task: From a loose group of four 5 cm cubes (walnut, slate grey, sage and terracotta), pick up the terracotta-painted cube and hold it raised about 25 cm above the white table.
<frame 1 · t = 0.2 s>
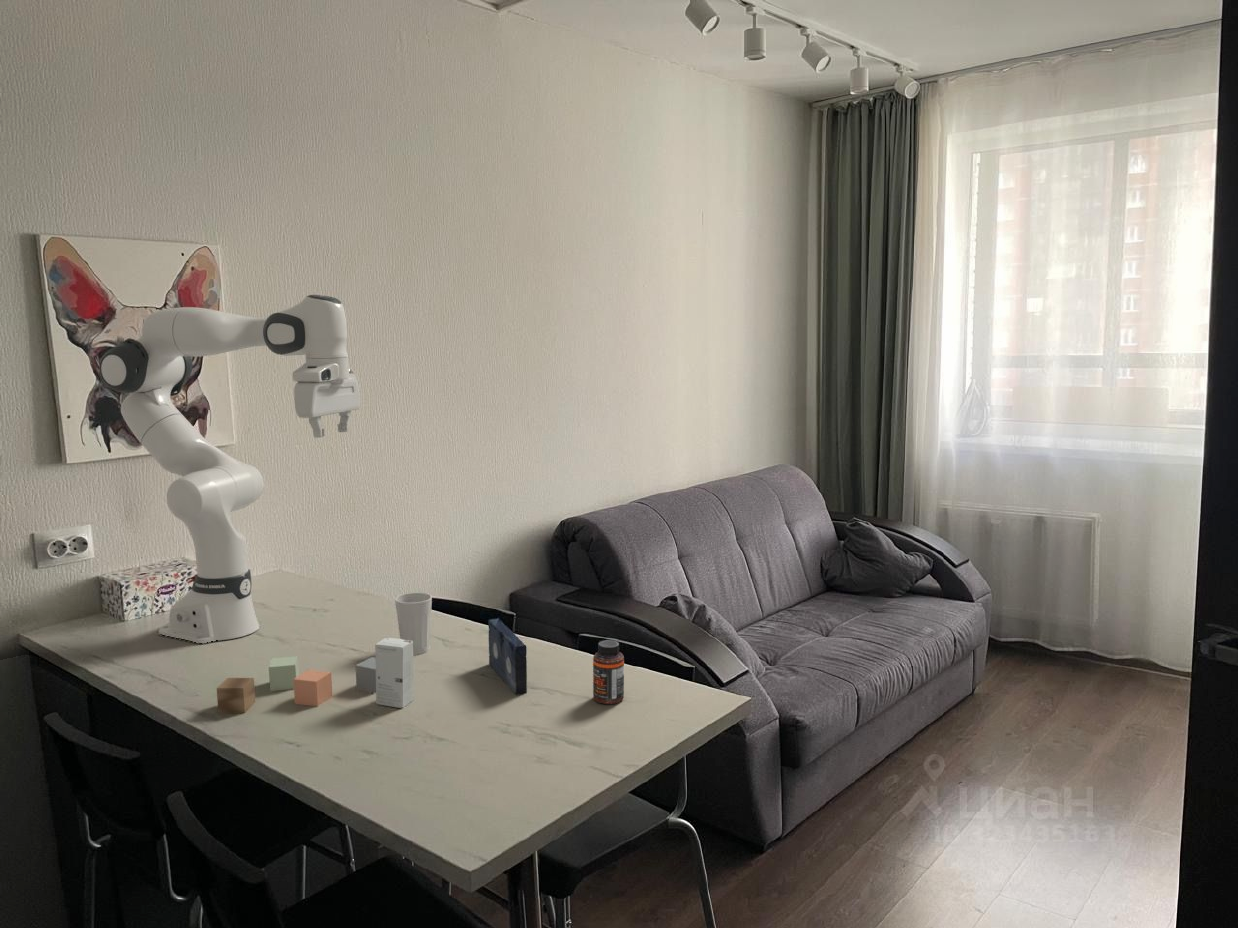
hand: (331, 434, 206), 48 cm above the table, fingers open, 8 cm apart
slate cube: (374, 686, 189), on the table
supplement bottle: (608, 700, 182), on the table
walnut cube: (237, 707, 179), on the table
skincare box: (396, 703, 181), on the table
vhs cassette tape: (507, 679, 193), on the table
sage cube: (284, 685, 190), on the table
terracotta cube: (313, 700, 182), on the table
cup: (415, 650, 209), on the table
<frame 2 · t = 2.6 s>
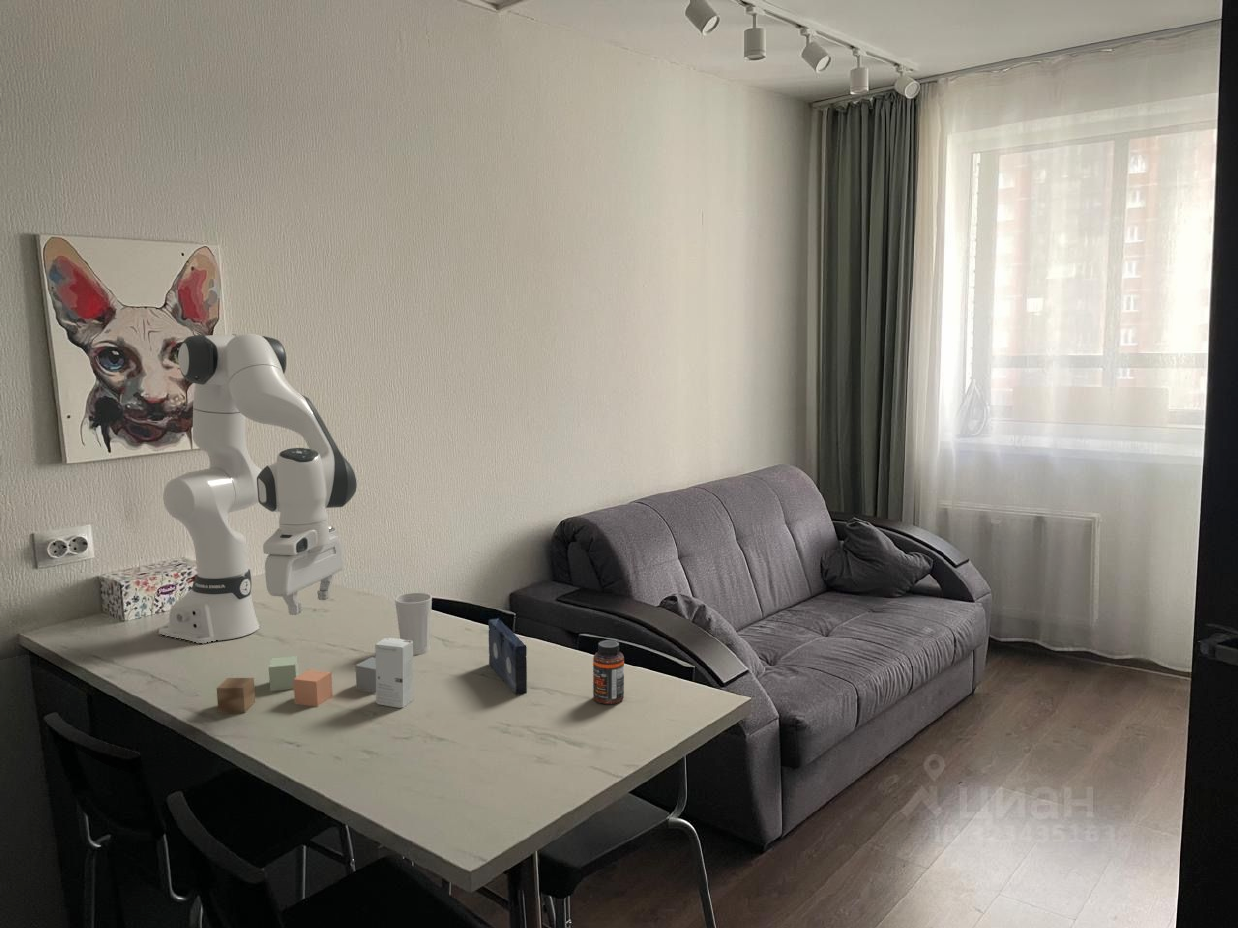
hand: (309, 606, 179), 19 cm above the table, fingers open, 8 cm apart
nothing on the table moved.
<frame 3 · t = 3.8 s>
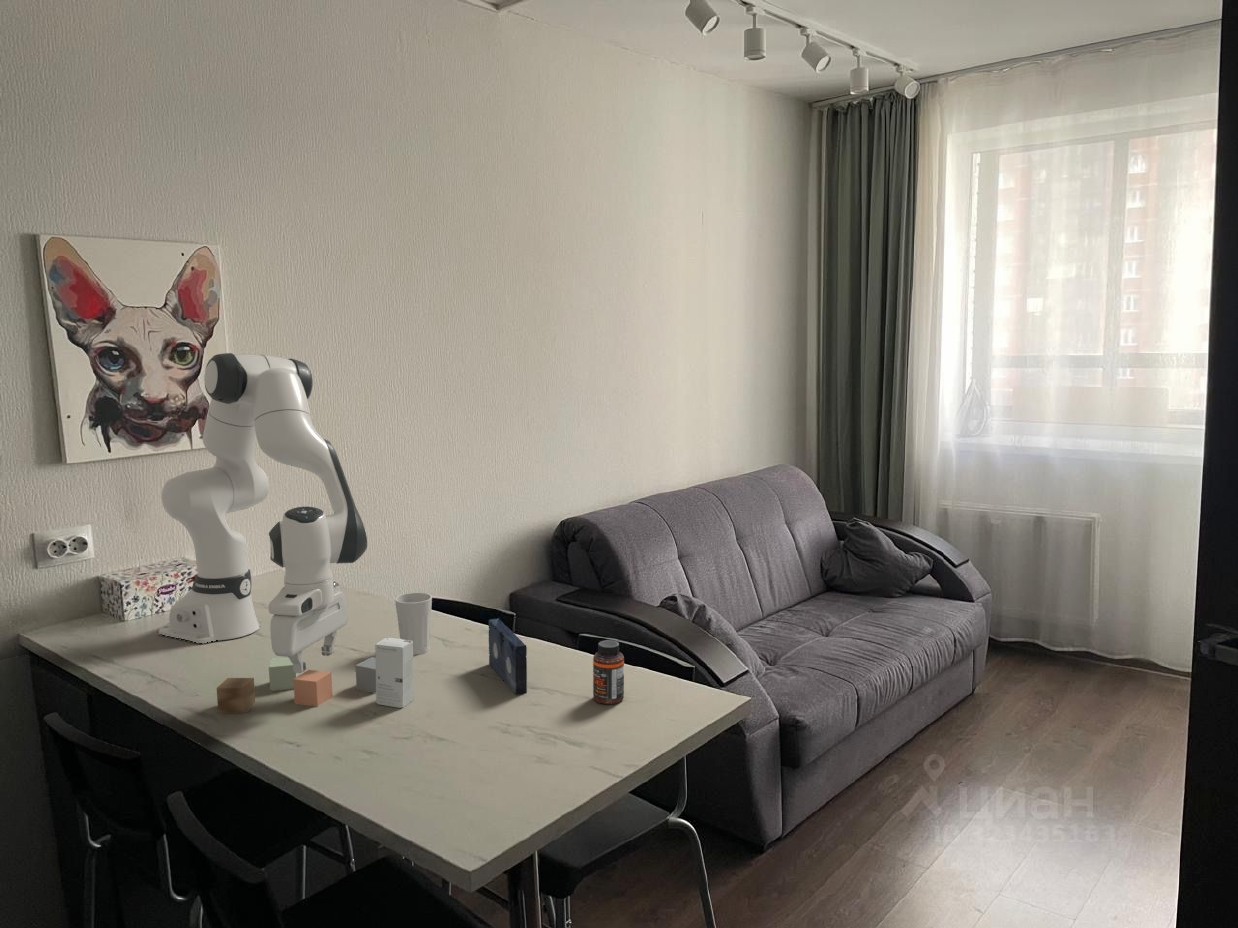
hand: (314, 662, 181), 7 cm above the table, fingers open, 8 cm apart
nothing on the table moved.
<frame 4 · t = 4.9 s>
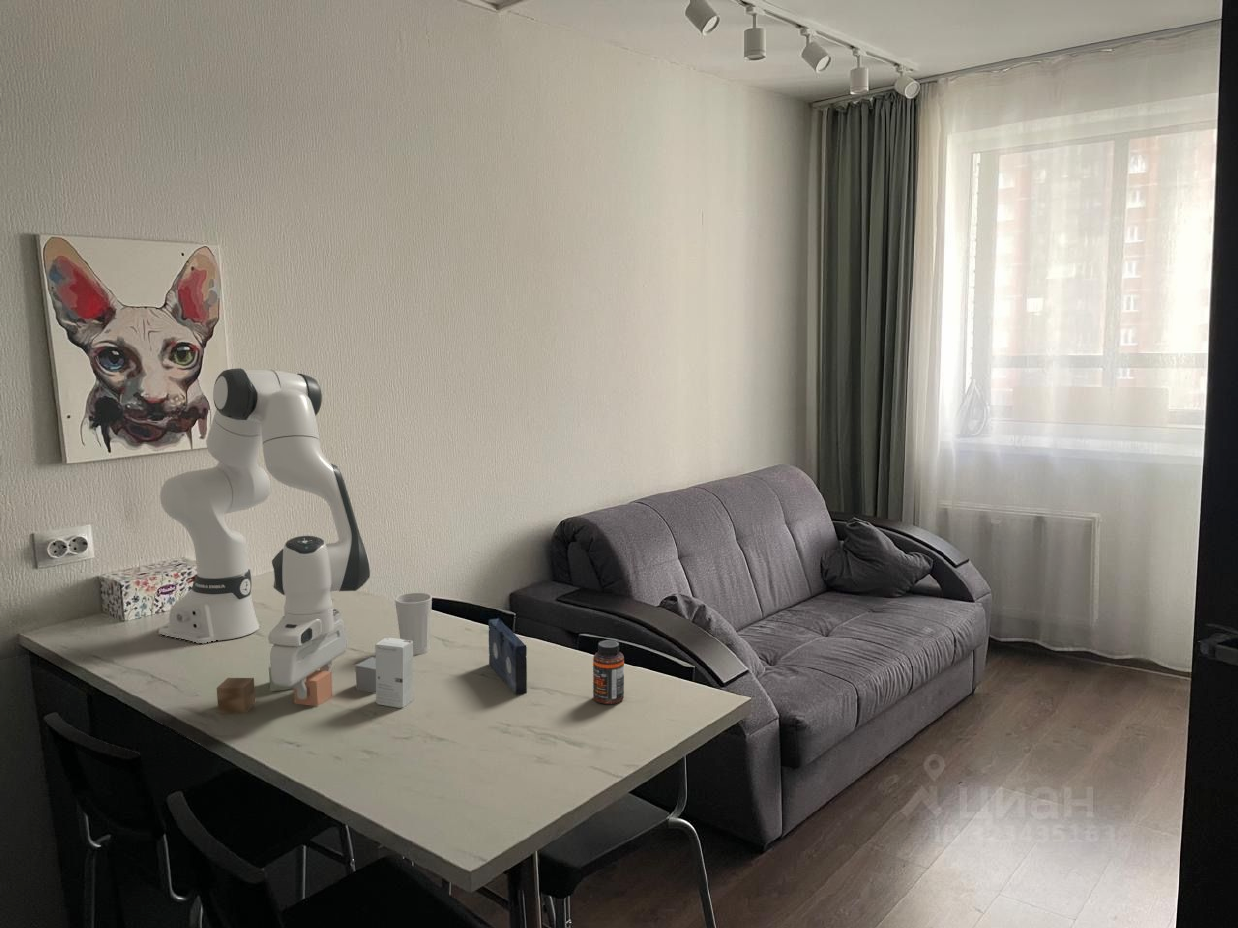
hand: (313, 691, 182), 2 cm above the table, fingers closed on terracotta cube, 5 cm apart
terracotta cube: (313, 699, 182), on the table, touching gripper
everything else where it was.
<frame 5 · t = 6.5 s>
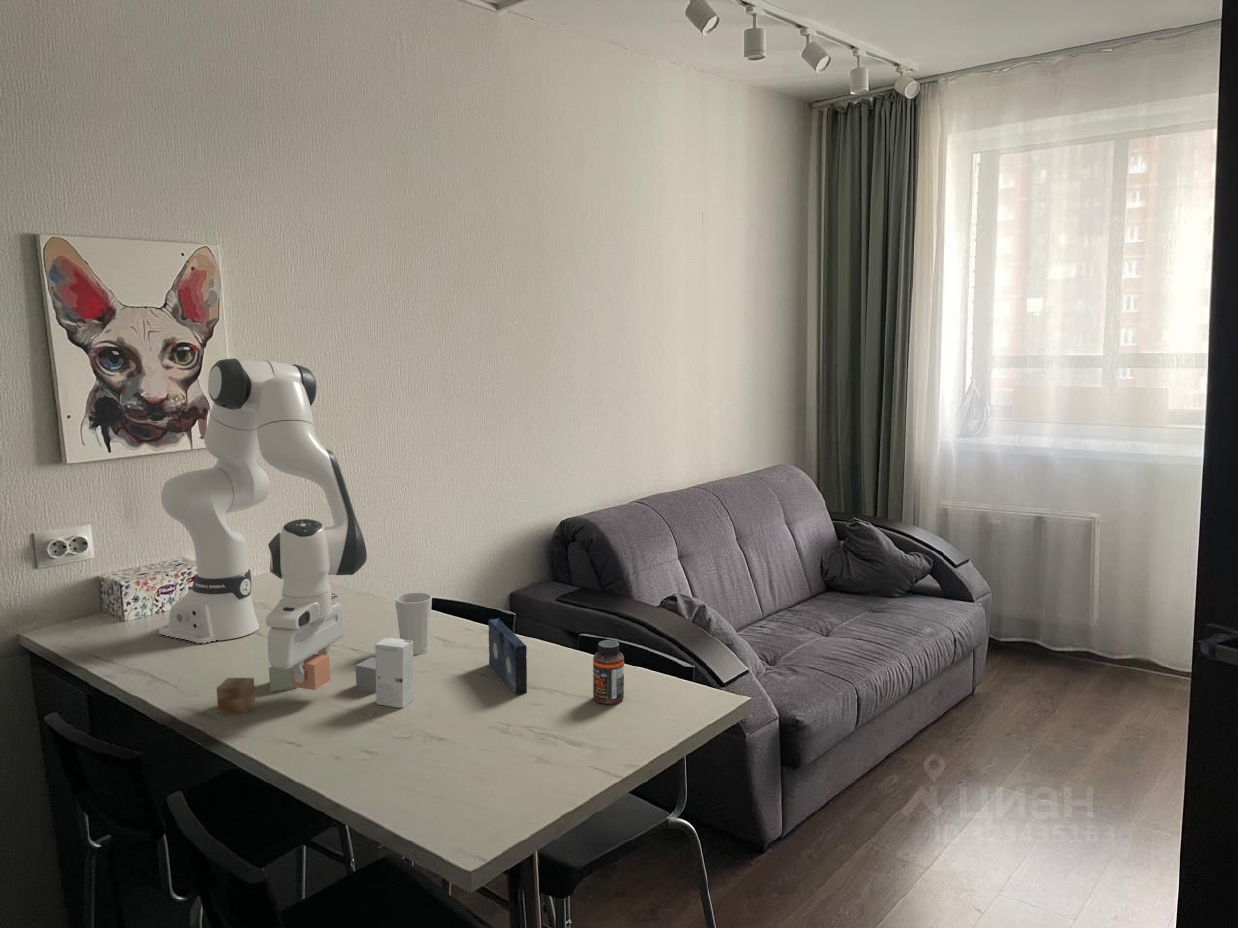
hand: (311, 674, 182), 5 cm above the table, fingers closed on terracotta cube, 5 cm apart
terracotta cube: (311, 683, 182), point 3 cm above the table, touching gripper
everything else where it was.
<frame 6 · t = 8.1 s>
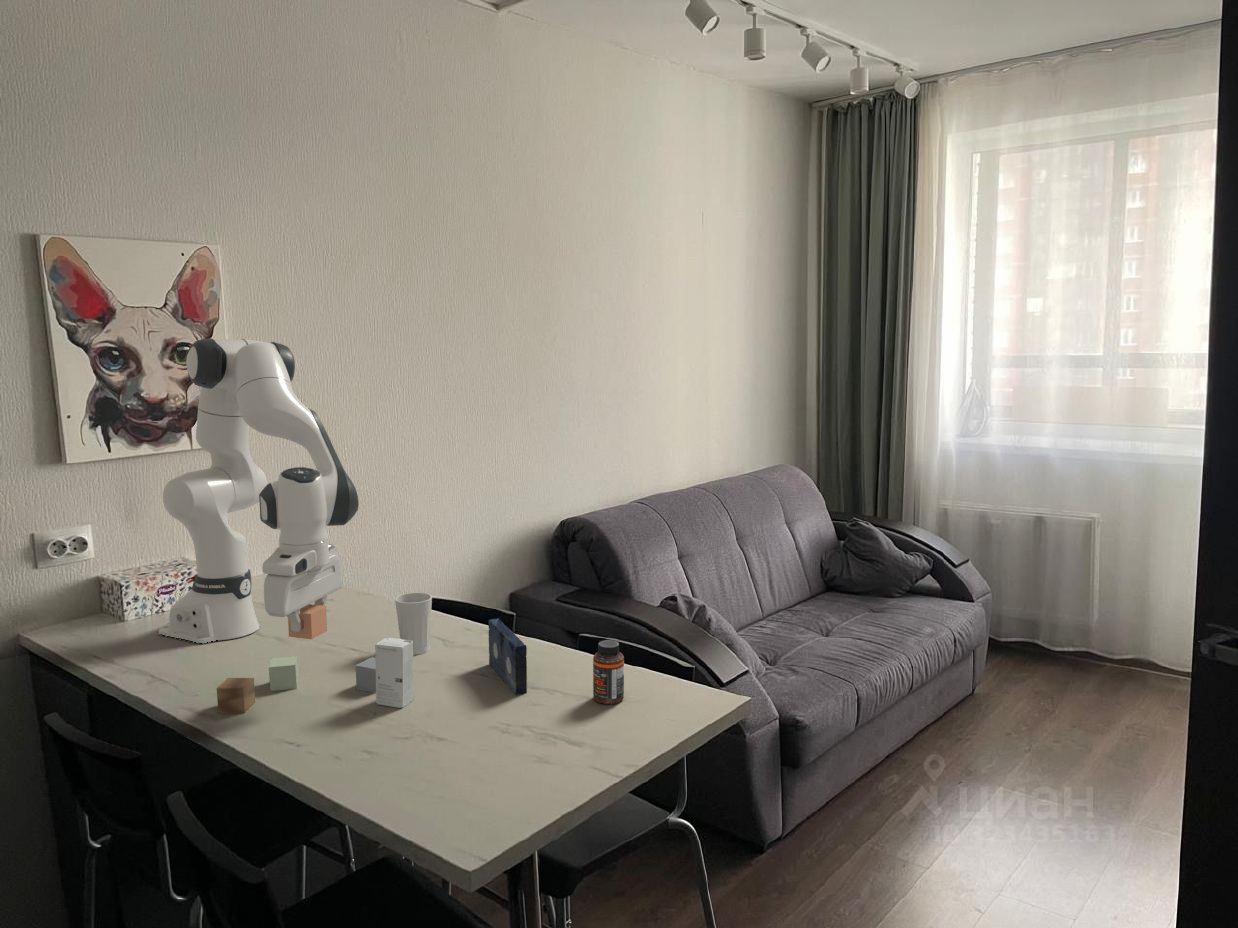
hand: (307, 624, 180), 15 cm above the table, fingers closed on terracotta cube, 5 cm apart
terracotta cube: (308, 633, 180), point 13 cm above the table, touching gripper
everything else where it was.
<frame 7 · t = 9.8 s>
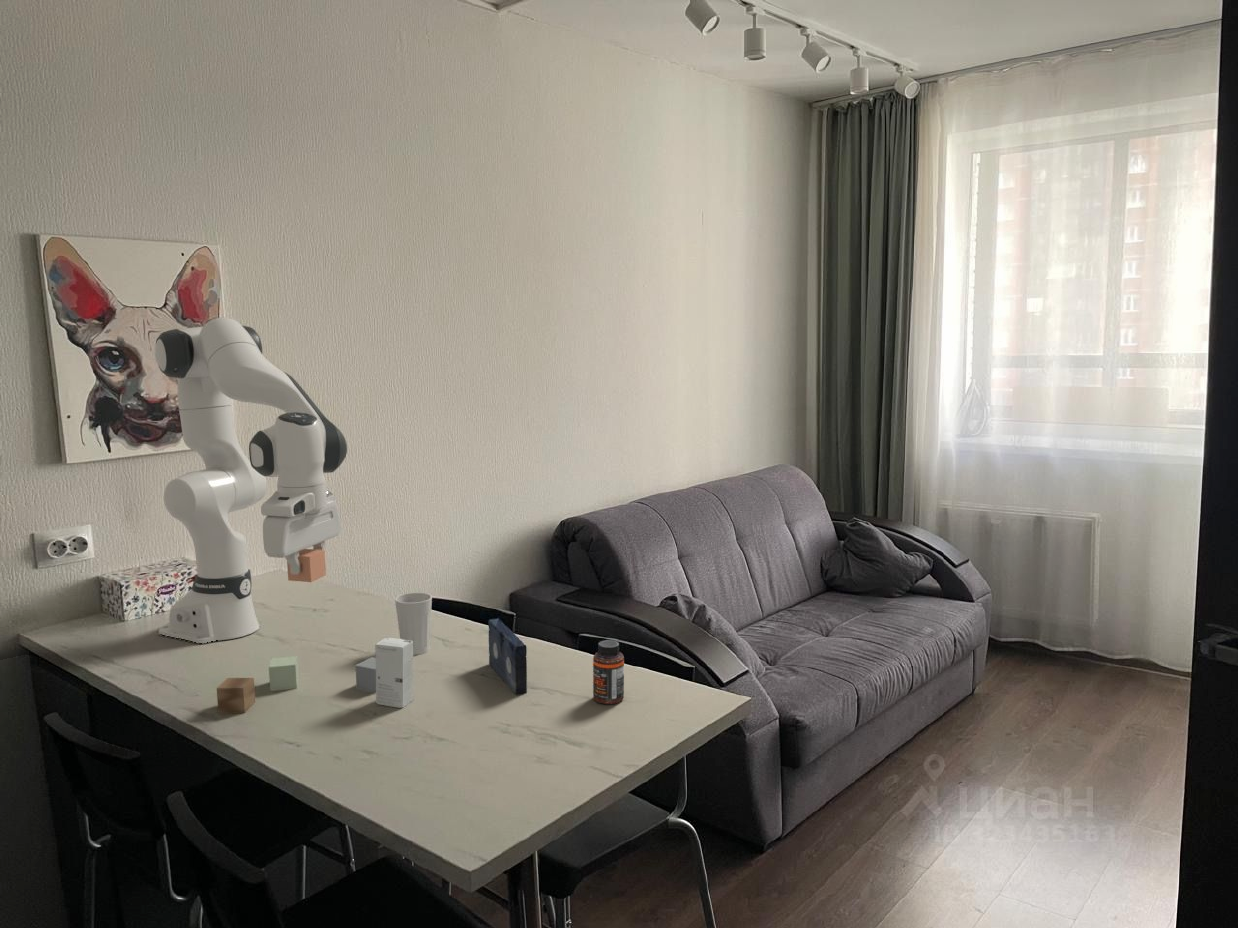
hand: (306, 569, 182), 25 cm above the table, fingers closed on terracotta cube, 5 cm apart
terracotta cube: (307, 577, 182), point 23 cm above the table, touching gripper
everything else where it was.
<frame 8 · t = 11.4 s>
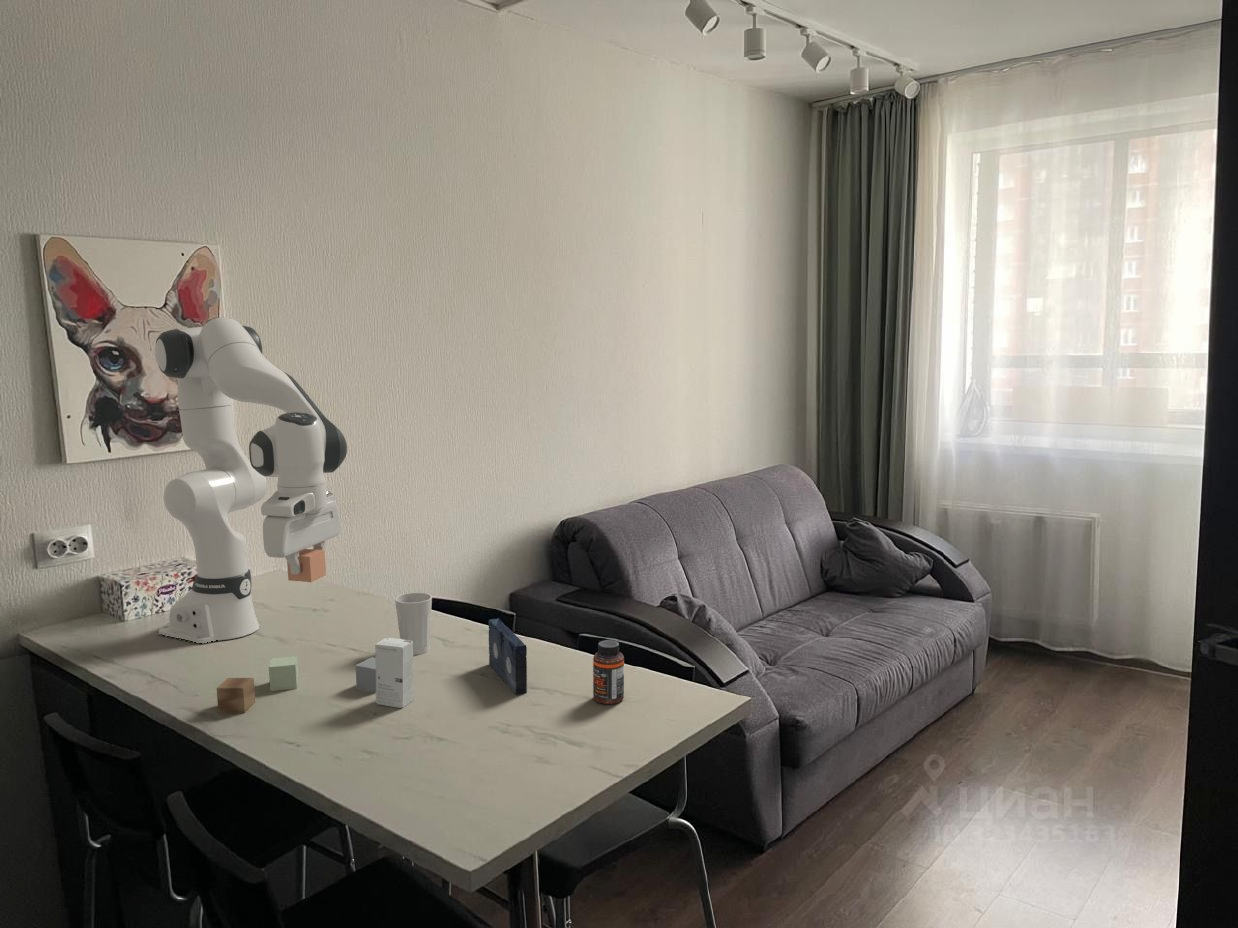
hand: (306, 569, 182), 25 cm above the table, fingers closed on terracotta cube, 5 cm apart
terracotta cube: (307, 577, 182), point 23 cm above the table, touching gripper
everything else where it was.
at the end: the gripper is holding terracotta cube; terracotta cube point 23.3 cm above the table; sage cube moved 0.1 cm from its start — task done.
